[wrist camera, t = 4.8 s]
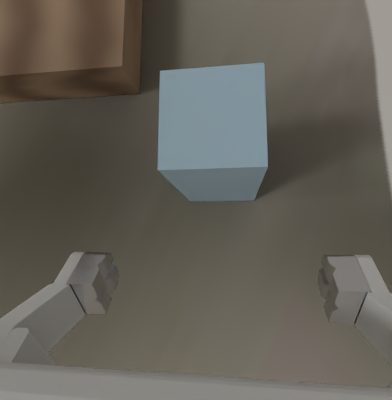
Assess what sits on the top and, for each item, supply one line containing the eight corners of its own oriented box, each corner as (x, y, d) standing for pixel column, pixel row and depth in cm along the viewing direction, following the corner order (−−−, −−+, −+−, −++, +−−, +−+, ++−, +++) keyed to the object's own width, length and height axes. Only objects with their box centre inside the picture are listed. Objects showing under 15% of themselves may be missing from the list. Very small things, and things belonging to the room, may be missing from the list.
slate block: (190, 201, 23) (157, 170, 14) (190, 141, 24) (159, 70, 14) (254, 200, 23) (267, 166, 13) (252, 138, 23) (264, 62, 14)
